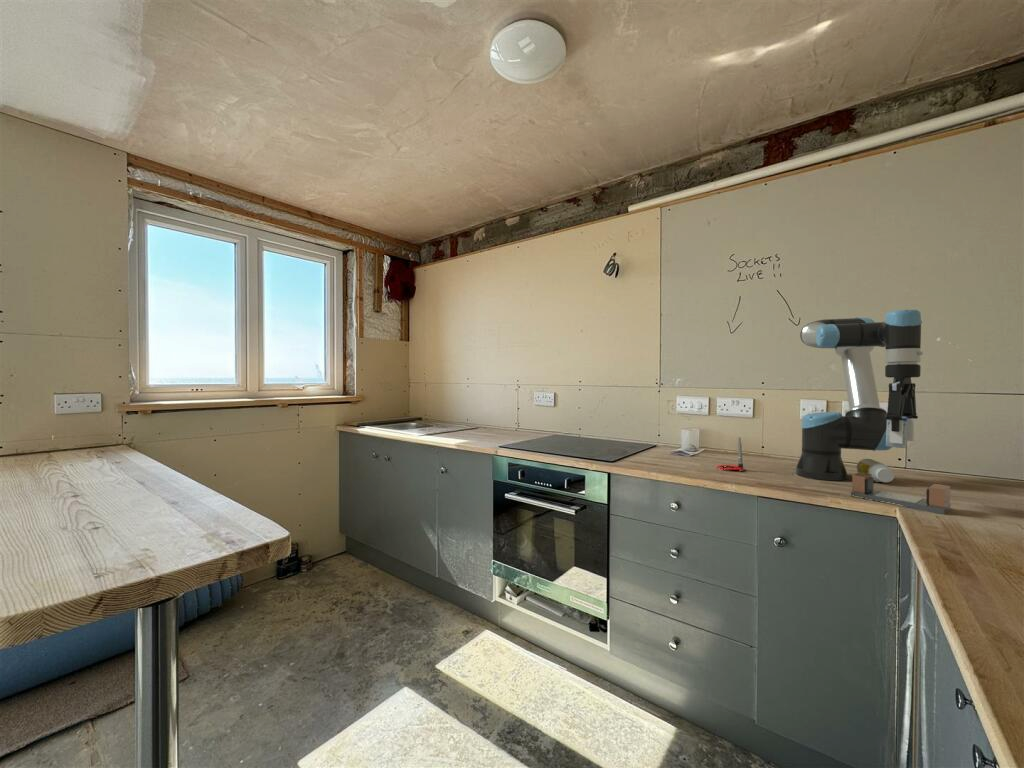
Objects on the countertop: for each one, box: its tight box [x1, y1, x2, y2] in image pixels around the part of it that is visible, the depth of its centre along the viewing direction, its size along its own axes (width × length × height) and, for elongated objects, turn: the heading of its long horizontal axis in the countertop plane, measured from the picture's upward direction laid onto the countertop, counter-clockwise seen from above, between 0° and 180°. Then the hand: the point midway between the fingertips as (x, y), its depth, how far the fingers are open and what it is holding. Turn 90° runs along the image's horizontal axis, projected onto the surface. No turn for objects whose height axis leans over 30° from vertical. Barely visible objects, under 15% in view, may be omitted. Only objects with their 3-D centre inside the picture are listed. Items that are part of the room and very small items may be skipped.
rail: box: [850, 472, 952, 515], centre depth 122 cm, size 20×8×6 cm, turn 34°
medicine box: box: [886, 416, 908, 449], centre depth 123 cm, size 8×4×9 cm, turn 137°
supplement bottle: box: [856, 458, 895, 483], centre depth 147 cm, size 7×7×13 cm
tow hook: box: [716, 436, 744, 472], centre depth 166 cm, size 8×13×9 cm
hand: (901, 441), depth 122 cm, fingers closed on medicine box, 8 cm apart
